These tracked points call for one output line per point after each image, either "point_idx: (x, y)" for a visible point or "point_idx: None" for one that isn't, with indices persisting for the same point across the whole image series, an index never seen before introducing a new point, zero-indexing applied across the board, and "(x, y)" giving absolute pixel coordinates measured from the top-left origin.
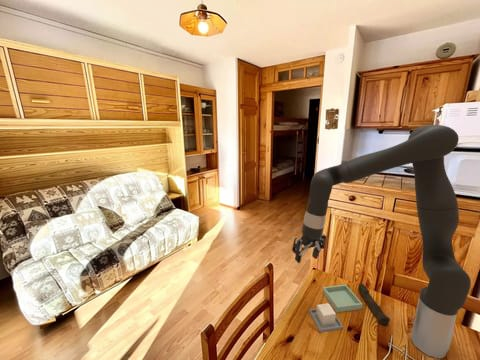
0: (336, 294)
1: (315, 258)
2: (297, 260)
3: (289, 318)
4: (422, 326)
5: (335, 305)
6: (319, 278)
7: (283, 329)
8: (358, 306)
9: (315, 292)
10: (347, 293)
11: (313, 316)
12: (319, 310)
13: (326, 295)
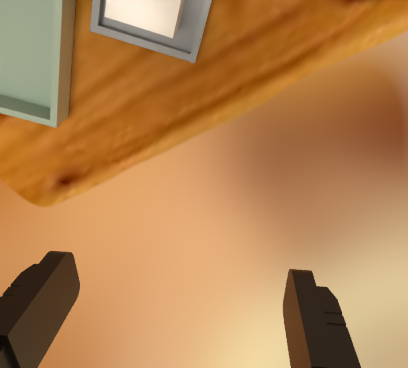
0: (11, 79)
1: (69, 257)
2: (336, 303)
3: (291, 71)
4: None
5: (63, 13)
6: (35, 180)
7: (352, 37)
8: None
9: (98, 130)
10: None
11: (203, 20)
12: (180, 6)
13: (65, 91)
